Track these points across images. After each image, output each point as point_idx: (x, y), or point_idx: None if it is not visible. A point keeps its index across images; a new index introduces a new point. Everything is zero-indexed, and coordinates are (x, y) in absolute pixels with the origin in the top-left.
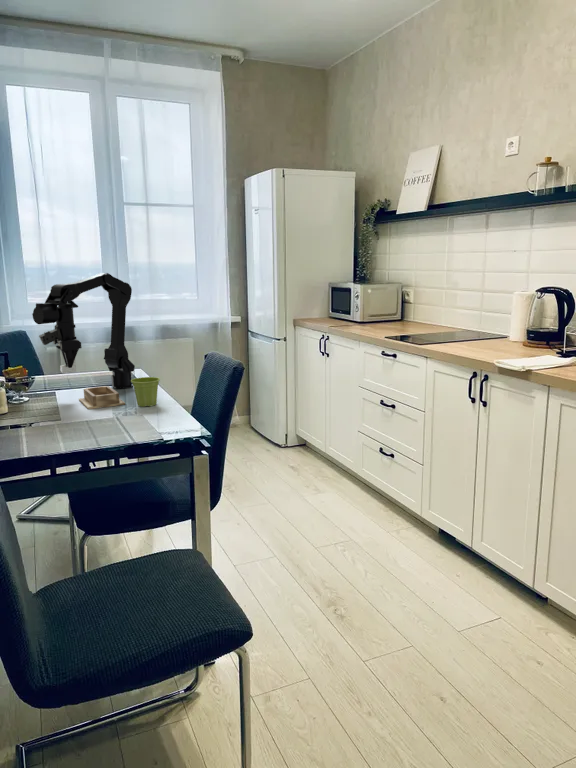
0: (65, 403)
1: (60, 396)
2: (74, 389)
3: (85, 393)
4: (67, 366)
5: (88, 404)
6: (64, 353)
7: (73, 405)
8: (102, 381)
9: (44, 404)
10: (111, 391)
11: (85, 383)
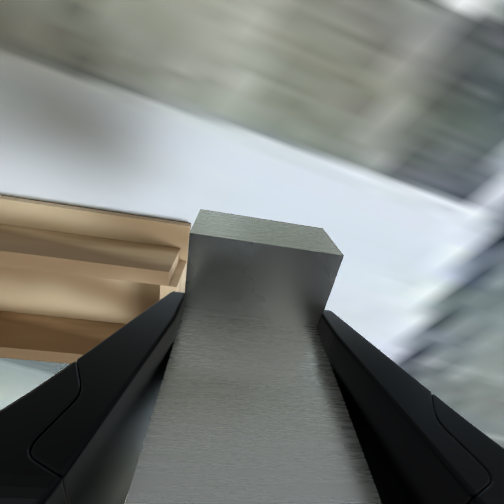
0: (161, 145)
1: (348, 186)
2: (436, 286)
3: (129, 257)
4: (193, 294)
5: (22, 215)
6: (33, 487)
7: (87, 162)
8: (467, 397)
9: (209, 28)
10: (46, 346)
11: (499, 351)
